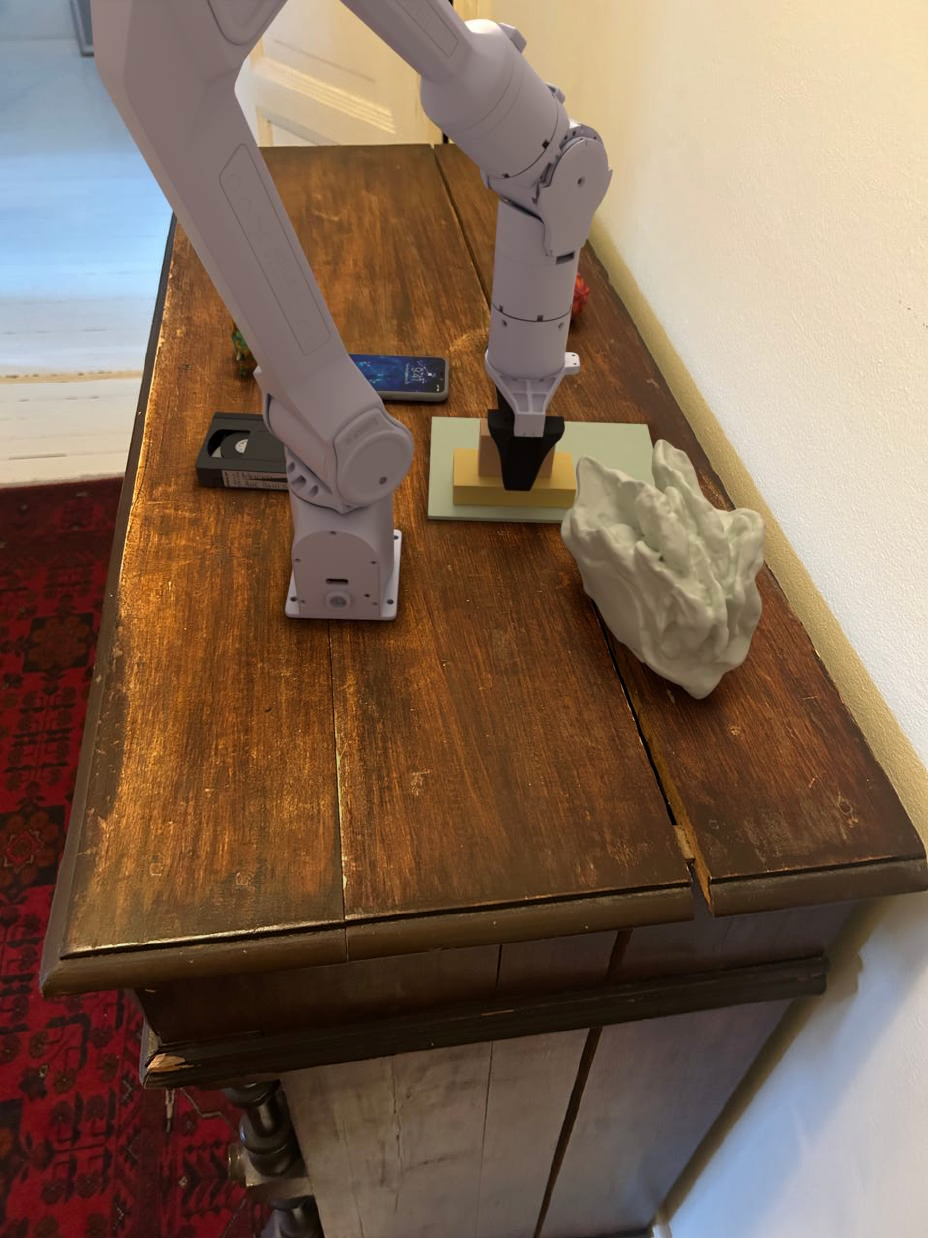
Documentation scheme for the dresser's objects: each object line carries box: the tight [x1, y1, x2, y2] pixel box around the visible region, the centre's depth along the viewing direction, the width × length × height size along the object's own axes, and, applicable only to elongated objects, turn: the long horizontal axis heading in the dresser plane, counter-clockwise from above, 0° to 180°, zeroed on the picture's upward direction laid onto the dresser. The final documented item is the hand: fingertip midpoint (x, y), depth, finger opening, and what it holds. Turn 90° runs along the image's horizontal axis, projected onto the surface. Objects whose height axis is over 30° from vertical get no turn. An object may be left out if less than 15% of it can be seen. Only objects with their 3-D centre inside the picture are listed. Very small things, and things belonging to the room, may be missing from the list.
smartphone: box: [347, 352, 450, 402], centre depth 84 cm, size 7×1×15 cm
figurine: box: [229, 315, 258, 376], centre depth 83 cm, size 3×12×8 cm, turn 9°
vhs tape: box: [194, 411, 289, 492], centre depth 74 cm, size 14×8×2 cm, turn 88°
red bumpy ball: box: [570, 271, 591, 321], centre depth 92 cm, size 6×7×8 cm
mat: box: [427, 416, 655, 524], centre depth 76 cm, size 14×20×1 cm
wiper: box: [453, 417, 576, 508], centre depth 71 cm, size 5×10×6 cm, turn 90°
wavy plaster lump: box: [560, 438, 767, 700], centre depth 60 cm, size 18×13×16 cm
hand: (515, 458), depth 71 cm, fingers open, 7 cm apart
